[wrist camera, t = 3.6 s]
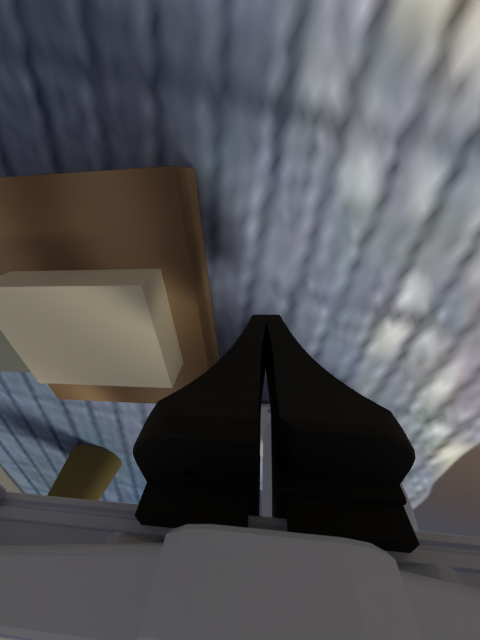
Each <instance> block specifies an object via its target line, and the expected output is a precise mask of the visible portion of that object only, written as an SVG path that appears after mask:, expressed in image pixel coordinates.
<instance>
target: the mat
mask: <svg viewBox="0 0 480 640" xmlns="http://www.w3.org/2000/svg"><path fill="white" fill-rule="evenodd" d="M0 371H7V372H31V371H30V370H29V369H28V367H27V366H26V365H25V363H24V362H23V360H22V359H21V358H20V356H19V355H18V354H17V352H16V351H15V349H14V348H13V347H12V345H11V344H10V343H9V341H8V340H7V338H6V337H5V336H4V334H3V333H2V332H1V330H0Z"/></svg>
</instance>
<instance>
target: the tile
mask: <svg viewBox="0 0 480 640" xmlns="http://www.w3.org/2000/svg"><path fill="white" fill-rule="evenodd" d="M0 330H1V332H2V333H3V334H4V336H5V337H6V338H7V340H8V341H9V343H10V344H11V345H12V347H13V348H14V349H15V351H16V352H17V354H18V355H19V356H20V358H21V359H22V360H23V362H24V363H25V365H26V366H27V367H28V369H29V370H30V371H31V373H32V374H33V376H34V377H35V378H36V380H37V381H38V382H39V383H50V384H76V385H102V386H128V387H154V388H172V387H173V385H174V383H175V381H176V378H177V376H178V374H179V372H180V369H181V367H182V365H183V360H182V355H181V351H180V347H179V343H178V339H177V335H176V331H175V326H174V322H173V318H172V314H171V310H170V306H169V302H168V297H167V293H166V289H165V285H164V281H163V277H162V273H161V269H115V270H60V271H11V272H9V273H6V274H3V275H1V276H0Z"/></svg>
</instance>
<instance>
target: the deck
mask: <svg viewBox="0 0 480 640" xmlns="http://www.w3.org/2000/svg"><path fill="white" fill-rule="evenodd" d="M115 269H161V273H162V277H163V281H164V285H165V289H166V293H167V297H168V302H169V306H170V310H171V314H172V318H173V322H174V326H175V331H176V335H177V339H178V343H179V347H180V351H181V355H182V360H183V365H182V367H181V369H180V372H179V374H178V376H177V378H176V381H175V383H174V385H173V387H172V388H154V387H128V386H102V385H76V384H50V383H47V384H48V385H49V386H50V388H51V389H52V391H53V392H54V393H55V395H56V396H57V398H58V399H69V400H91V401H113V402H134V403H156V404H157V402H158V401H159V400H161V399H163V398H165V397H167V396H169V395H170V394H172V393H174V392H176V391H178V390H179V389H181V388H183V387H184V386H186V385H188V384H189V383H191V382H192V381H194V380H195V379H197V378H198V377H199V376H201V375H202V374H203V373H205V372H206V371H207V370H208V369H210V368H211V367H212V366H213V365H214V364H215V363H216V362H218V361H219V354H218V346H217V338H216V331H215V323H214V315H213V307H212V300H211V292H210V284H209V277H208V269H207V261H206V253H205V246H204V238H203V230H202V223H201V215H200V207H199V199H198V192H197V184H196V176H195V169H194V168H188V167H179V166H164V167H149V168H134V169H120V170H105V171H90V172H75V173H60V174H45V175H30V176H15V177H0V276H1V275H3V274H6V273H9V272H11V271H60V270H115Z"/></svg>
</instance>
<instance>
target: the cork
mask: <svg viewBox="0 0 480 640" xmlns="http://www.w3.org/2000/svg"><path fill="white" fill-rule="evenodd" d="M120 466H121V461H120V460H119V458H118V457H117V456H116V455H115V454H113V453H112V452H110V451H108V450H106V449H104V448H101V447H98V446H94V445H86V444H83V445H77V446H75V447H74V448H73V450H72V451H71V453H70V455H69V457H68V459H67V461H66V462H65V464H64V466H63V468H62V470H61V471H60V473H59V475H58V477H57V479H56V480H55V482H54V484H53V486H52V488H51V490H50V491H49V493H48V495H47V496H56V497H66V498H76V499H87V500H97V501H99V499H100V498H101V496H102V495H103V493H104V491H105V490H106V488H107V487H108V485H109V484H110V482H111V481H112V479H113V477H114V476H115V474H116V473H117V471H118V470H119V468H120Z"/></svg>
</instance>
